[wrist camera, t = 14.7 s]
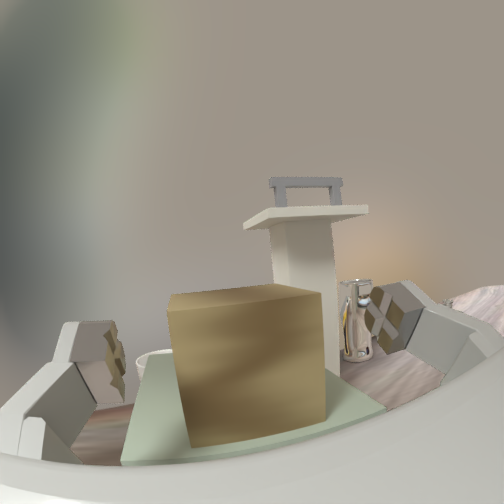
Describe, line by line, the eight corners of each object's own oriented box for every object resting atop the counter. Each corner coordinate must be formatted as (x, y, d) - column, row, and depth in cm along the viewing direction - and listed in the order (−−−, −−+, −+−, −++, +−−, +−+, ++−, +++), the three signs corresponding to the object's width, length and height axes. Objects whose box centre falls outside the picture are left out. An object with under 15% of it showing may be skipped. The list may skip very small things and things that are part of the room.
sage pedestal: (202, 607, 7) (120, 460, 8) (185, 498, 20) (148, 354, 20) (353, 572, 10) (386, 407, 10) (290, 480, 22) (281, 338, 23)
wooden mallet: (191, 448, 9) (166, 311, 9) (182, 349, 21) (174, 283, 21) (325, 421, 10) (321, 292, 10) (248, 341, 23) (242, 276, 23)
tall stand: (286, 441, 30) (264, 171, 30) (259, 400, 41) (240, 195, 42) (374, 413, 32) (363, 172, 33) (332, 383, 44) (319, 193, 45)
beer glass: (350, 366, 50) (347, 284, 50) (335, 355, 57) (331, 282, 57) (382, 357, 51) (380, 279, 52) (365, 348, 58) (362, 278, 58)
